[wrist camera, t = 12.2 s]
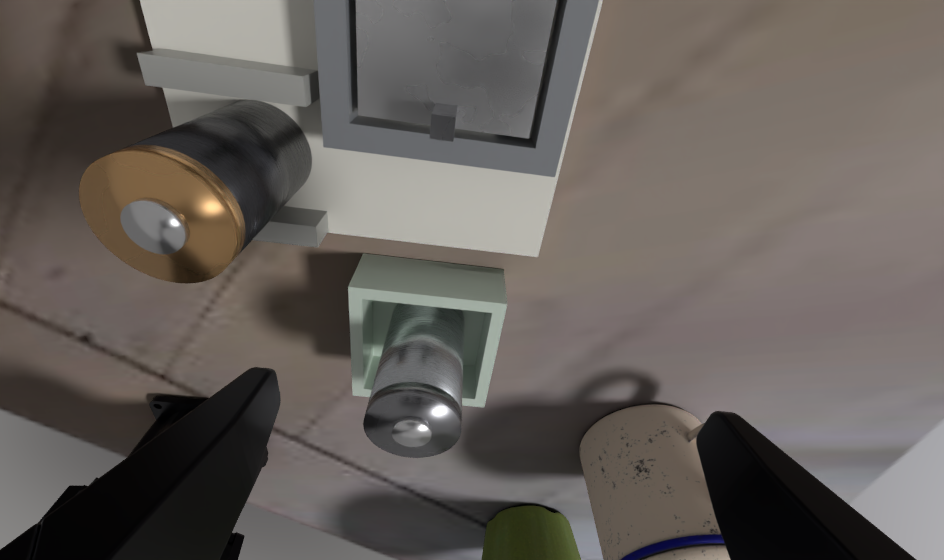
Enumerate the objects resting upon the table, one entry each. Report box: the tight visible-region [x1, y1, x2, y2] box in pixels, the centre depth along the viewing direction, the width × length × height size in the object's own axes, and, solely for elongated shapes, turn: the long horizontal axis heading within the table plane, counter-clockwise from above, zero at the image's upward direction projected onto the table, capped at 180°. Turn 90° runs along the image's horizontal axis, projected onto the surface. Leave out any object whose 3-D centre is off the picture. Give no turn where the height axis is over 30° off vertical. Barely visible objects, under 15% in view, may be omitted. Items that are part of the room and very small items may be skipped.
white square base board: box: [137, 0, 603, 257], centre depth 15 cm, size 16×16×3 cm
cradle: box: [356, 0, 557, 142], centre depth 13 cm, size 6×6×3 cm
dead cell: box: [363, 303, 465, 458], centre depth 20 cm, size 4×4×7 cm
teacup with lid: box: [579, 404, 730, 560], centre depth 24 cm, size 12×9×12 cm
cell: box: [79, 100, 312, 283], centre depth 14 cm, size 4×4×7 cm
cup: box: [348, 253, 507, 407], centre depth 22 cm, size 7×7×3 cm
